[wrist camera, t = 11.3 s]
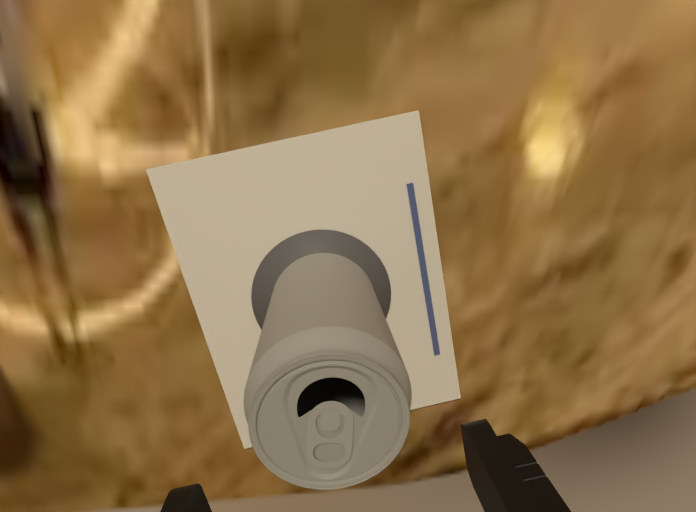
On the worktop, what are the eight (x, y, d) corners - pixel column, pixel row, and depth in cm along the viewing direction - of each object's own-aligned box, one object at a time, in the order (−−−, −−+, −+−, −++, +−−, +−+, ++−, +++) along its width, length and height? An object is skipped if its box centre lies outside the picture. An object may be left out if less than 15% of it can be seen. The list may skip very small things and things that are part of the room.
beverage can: (375, 250, 24) (430, 344, 13) (369, 342, 26) (412, 498, 14) (273, 247, 24) (233, 343, 12) (273, 341, 25) (238, 504, 14)
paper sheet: (417, 110, 23) (419, 110, 22) (459, 395, 28) (461, 399, 28) (148, 169, 22) (145, 169, 22) (244, 445, 28) (244, 449, 27)
